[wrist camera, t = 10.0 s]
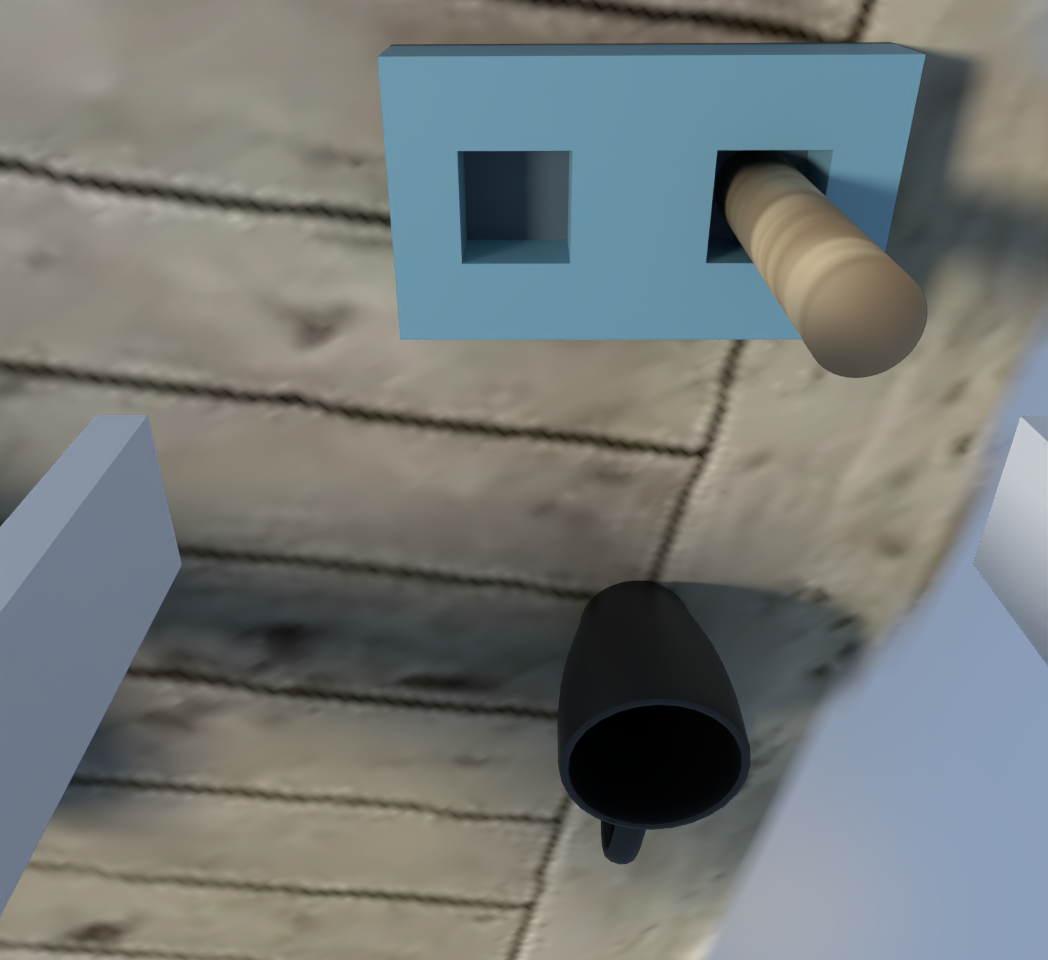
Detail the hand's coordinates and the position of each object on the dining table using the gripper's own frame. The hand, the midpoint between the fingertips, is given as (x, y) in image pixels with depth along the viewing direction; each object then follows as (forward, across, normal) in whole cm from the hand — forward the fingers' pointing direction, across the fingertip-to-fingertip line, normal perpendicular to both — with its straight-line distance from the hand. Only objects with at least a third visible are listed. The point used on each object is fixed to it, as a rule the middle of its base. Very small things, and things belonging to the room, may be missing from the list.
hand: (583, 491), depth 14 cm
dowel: (+24, +8, -1) cm, 25 cm away
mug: (+25, +5, -25) cm, 36 cm away
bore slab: (+24, +4, -1) cm, 25 cm away
